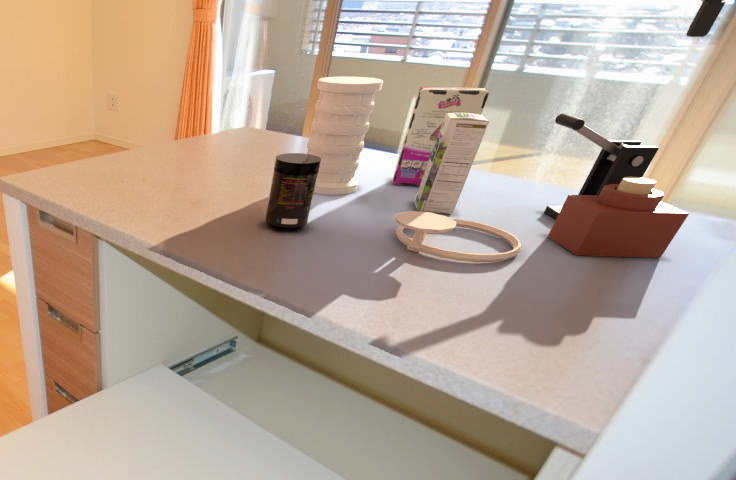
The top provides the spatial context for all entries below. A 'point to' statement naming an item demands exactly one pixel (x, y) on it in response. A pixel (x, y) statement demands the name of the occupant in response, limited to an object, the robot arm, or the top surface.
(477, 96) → the candy bar box
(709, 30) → the robot arm
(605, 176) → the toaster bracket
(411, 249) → the hand towel holder
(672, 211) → the box
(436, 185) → the syrup box
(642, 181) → the button
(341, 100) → the decorative container
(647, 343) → the top surface
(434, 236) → the top surface
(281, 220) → the supplement container
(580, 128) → the lever
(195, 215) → the top surface
